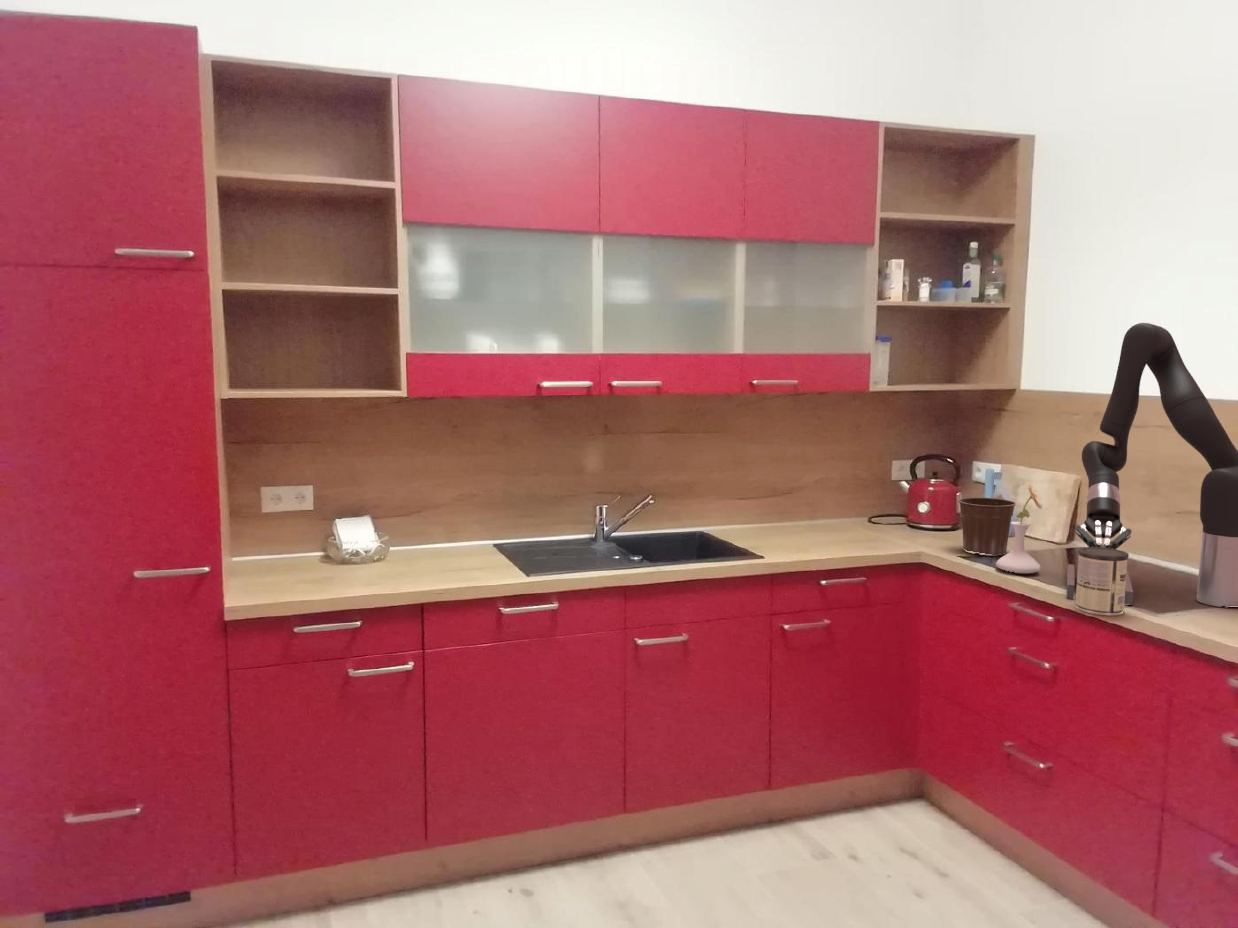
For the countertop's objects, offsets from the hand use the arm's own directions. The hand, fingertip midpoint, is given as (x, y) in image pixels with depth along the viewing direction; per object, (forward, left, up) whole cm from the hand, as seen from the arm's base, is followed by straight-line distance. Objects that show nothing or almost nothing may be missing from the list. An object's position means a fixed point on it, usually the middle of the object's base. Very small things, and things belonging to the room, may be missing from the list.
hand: (1102, 560), depth 213 cm
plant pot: (+30, -43, -10) cm, 54 cm away
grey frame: (0, -8, -10) cm, 13 cm away
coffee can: (0, +12, -10) cm, 16 cm away
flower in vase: (+19, -21, -10) cm, 30 cm away
